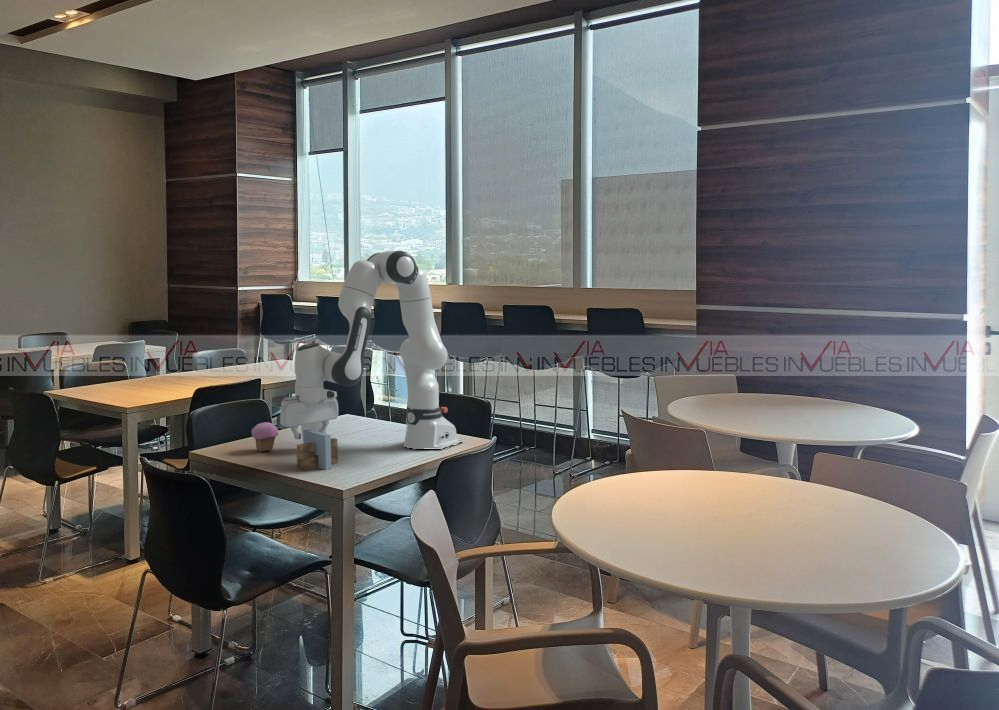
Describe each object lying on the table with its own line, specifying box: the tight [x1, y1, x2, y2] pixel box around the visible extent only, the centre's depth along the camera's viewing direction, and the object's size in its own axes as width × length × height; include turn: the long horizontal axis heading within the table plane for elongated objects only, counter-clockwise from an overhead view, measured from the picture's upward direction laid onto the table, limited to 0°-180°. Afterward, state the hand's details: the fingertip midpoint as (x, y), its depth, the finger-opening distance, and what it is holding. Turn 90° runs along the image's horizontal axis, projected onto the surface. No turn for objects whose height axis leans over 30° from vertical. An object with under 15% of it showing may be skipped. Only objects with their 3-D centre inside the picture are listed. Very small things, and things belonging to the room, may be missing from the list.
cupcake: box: [251, 421, 279, 452], centre depth 271 cm, size 9×9×10 cm
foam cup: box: [300, 422, 323, 439], centre depth 274 cm, size 10×9×13 cm
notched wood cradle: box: [296, 437, 339, 472], centre depth 251 cm, size 14×2×8 cm, turn 138°
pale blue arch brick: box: [302, 429, 332, 471], centre depth 251 cm, size 12×2×11 cm, turn 48°
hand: (310, 436), depth 253 cm, fingers open, 8 cm apart
